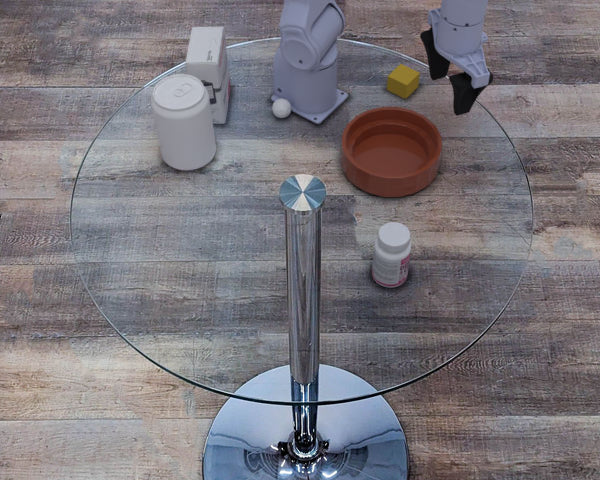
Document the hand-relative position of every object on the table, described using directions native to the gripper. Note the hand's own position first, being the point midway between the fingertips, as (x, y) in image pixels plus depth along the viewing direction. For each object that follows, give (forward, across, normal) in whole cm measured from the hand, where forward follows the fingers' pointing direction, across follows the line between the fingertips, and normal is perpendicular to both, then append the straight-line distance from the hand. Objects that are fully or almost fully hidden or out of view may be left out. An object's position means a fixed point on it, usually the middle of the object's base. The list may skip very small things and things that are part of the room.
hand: (449, 94), depth 122 cm
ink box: (+10, +20, +30) cm, 37 cm away
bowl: (+9, -1, +9) cm, 13 cm away
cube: (+9, +13, +1) cm, 16 cm away
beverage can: (+10, +11, +36) cm, 39 cm away
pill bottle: (+10, -20, +17) cm, 28 cm away
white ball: (+10, +14, +20) cm, 27 cm away
